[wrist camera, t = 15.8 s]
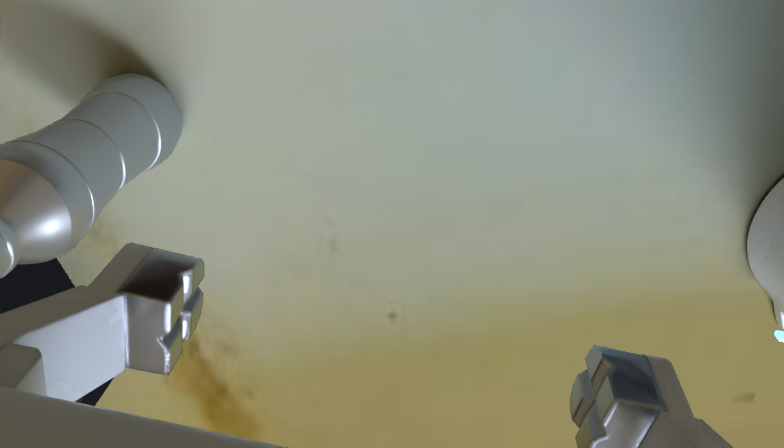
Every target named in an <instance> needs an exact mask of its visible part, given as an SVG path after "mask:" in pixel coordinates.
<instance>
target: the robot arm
mask: <svg viewBox="0 0 784 448" xmlns="http://www.w3.org/2000/svg"><path fill="white" fill-rule="evenodd" d="M747 255H748V261H749V265H750V268H751V270H752V273H753V275H754V276H755V278H756V280H757V281H758V282H759V284H760V285H761V286H762V287H763V288H764V289H765V291H766V292H767V293H768V294H769V295H770V297H771V298H772V300H773V303H774V311H775V317H776V320H777V323H778V325H779V326H780V327H781V328H782V329H783V330H784V178H783V179H782V180H781V181H779V182H778V183H777V184H776V186H775V187H774V188H773V189H772V190H771V191H770V192H769V194H768V195H767V196H766V198H765V199H764V200H763V202H762V203H761V205H760V207H759V208H758V210H757V212H756V214H755V216H754V218H753V221H752V223H751V226H750V230H749V234H748V240H747ZM203 277H204V262H203V260H202V259H200V258H195V257H191V256H187V255H183V254H179V253H175V252H170V251H166V250H162V249H158V248H153V247H149V246H144V245H140V244H135V243H129V244H126V245H125V246H124V247H123V248H122V249H121V250H120V251H119V252H118V254H117V255H116V256H115V257H114V258H113V259H112V260H111V261H110V263H109V264H108V265H107V266H106V267H105V268H104V269H103V270H102V272H101V273H100V274H99V275H98V276H97V277H96V278H95V279H94V281H93V282H92V283H91V284H90V285H89V286H88V287H86V286H78V287H75V288H72V289H69V290H66V291H64V292H61V293H58V294H55V295H52V296H50V297H47V298H44V299H41V300H38V301H35V302H33V303H30V304H27V305H24V306H21V307H19V308H16V309H13V310H10V311H7V312H4V313H2V314H0V448H288V447H283V446H278V445H274V444H269V443H264V442H260V441H255V440H250V439H246V438H241V437H236V436H232V435H227V434H222V433H218V432H213V431H208V430H204V429H199V428H194V427H190V426H185V425H180V424H176V423H171V422H166V421H161V420H157V419H152V418H147V417H143V416H138V415H133V414H129V413H124V412H119V411H115V410H110V409H105V408H101V407H96V406H91V405H87V404H82V403H77V402H74V401H76V400H78V399H79V398H81V397H82V396H84V395H86V394H87V393H89V392H91V391H92V390H94V389H95V388H97V387H99V386H100V385H102V384H104V383H105V382H107V381H108V380H110V379H112V378H113V377H115V376H116V375H118V374H120V373H121V372H123V371H125V368H130V369H135V370H141V371H146V372H152V373H157V374H162V375H168V376H169V374H170V373H171V371H172V369H173V367H174V366H175V364H176V362H177V360H178V359H179V357H180V355H181V354H182V342H183V341H185V340H187V339H189V338H191V336H192V334H193V332H194V330H195V329H196V326H197V323H198V321H199V318H200V315H201V310H202V304H203V293H202V291H201V290H200V288H199V287H198V285H199V284H200V282H201V281H202V279H203ZM774 334H775V336H776V337H777V339H778V340H779V341H782V342H784V331H775V333H774ZM585 360H586V364H587V368H588V369H587V370H585V371H583V372H582V373H580V374H578V375H577V378H576V380H575V382H574V385H573V387H572V392H571V397H570V411H571V417H572V420H573V421H574V422H575V424H576V425H577V426H578V427H579V428H580V429H579V431H578V433H577V435H576V437H575V438H576V442H577V447H578V448H733V447H732V446H731V445H730V444H729V443H727V442H726V441H725V440H724V439H723V438H722V437H721V436H720V435H719V434H717V433H716V432H715V431H714V430H713V429H712V428H711V427H710V426H708V425H707V424H706V423H705V422H704V421H703V420H701V419H697V418H695V417H694V415H693V413H692V410H691V408H690V406H689V403H688V401H687V399H686V396H685V394H684V392H683V389H682V387H681V385H680V382H679V380H678V378H677V375H676V373H675V371H674V368H673V366H672V364H671V362H670V361H669V360H667V359H665V358H660V357H655V356H650V355H644V354H642V355H640V354H635V353H631V352H626V351H621V350H617V349H612V348H607V347H603V346H598V345H594V346H593V347H592V348H591V349H590V350H589V352H588V354H587V356H586V358H585Z"/></svg>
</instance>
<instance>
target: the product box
mask: <svg viewBox="0 0 784 448" xmlns="http://www.w3.org/2000/svg"><path fill="white" fill-rule="evenodd" d="M72 288H75V287H74V285H73V283H72V282H71V280H70V279H69V277H68V276H67V274H66V273H65V271H64V269H63V268H62V266H61V265H60V263H59V262H58V260H57V258H54V259H52V260H49V261H47V262H41V263H34V264H17V265H16V266H15V267H14V269H13V270H12V271H10V272H9V273H8V274H7V275H6V276H4V277H3V278H0V314H2V313H4V312H7V311H10V310H13V309H16V308H19V307H21V306H24V305H27V304H30V303H33V302H35V301H38V300H41V299H44V298H47V297H50V296H52V295H55V294H58V293H61V292H64V291H66V290H69V289H72ZM113 378H114V377H113ZM113 378H112V379H110V380H108V381H107V382H105V383H104V384H102V385H100V386H99V387H97V388H95V389H94V390H92V391H91V392H89V393H87V394H86V395H84V396H82V397H81V398H79V399H78V400H76V401H74V402H77V403H82V404H87V405H91V406H95V405H96V403H97V402H98V400H99V399H100V397H101V396H102V394H103V393H104V391H105V390H106V389H107V387H108V386H109V384H110V383H111V381H112V380H113Z"/></svg>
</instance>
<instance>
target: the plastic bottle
mask: <svg viewBox="0 0 784 448" xmlns="http://www.w3.org/2000/svg"><path fill="white" fill-rule="evenodd" d="M181 132H182V117H181V112H180V109H179V107H178V104H177V103H176V101H175V99H174V97H173V96H172V95H171V94H170V92H169V91H168V90H167V89H166V88H165V87H164V86H162V85H161V84H160V83H159V82H157V81H155V80H154V79H152V78H149V77H147V76H144V75H140V74H123V75H119V76H114V77H110V78H107V79H105V80H103V81H101V82H100V83H98V84H97V85H96V86H95V87H94V88H93V89H92V90H91V91H90V92H89V93H88V94H87V95H86V96H85V97H84V98H83V100H82V101H81V102H80V104H79V105H77V106H76V107H75V108H74V109H73V110H71V111H70V112H69V113H68V114H67V115H65V116H64V117H63V118H62V119H60V120H58V121H56V122H54V123H52V124H50V125H48V126H46V127H44V128H42V129H40V130H38V131H37V132H34V133H31V134H28V135H25V136H22V137H20V138H17V139H14V140H11V141H8V142H6V143H3V144H0V278H3V277H4V276H6V275H7V274H8V273H9V272H10V271H12V270H13V269H14V267H15V266H16V265H17V264H34V263H41V262H47V261H49V260H52V259H54V258H57V257H59V256H61V255H64V254H66V253H68V252H69V251H71V250H72V249H73V248H75V246H76V245H77V244H78V243H79V242H80V241H81V239H82V238H83V237H84V236H85V234H86V233H87V232H88V230H89V229H90V227H91V226H92V224H93V223H94V222H95V220H96V219H97V217H98V216H99V214H100V213H101V211H102V210H103V208H104V207H105V206H106V205H107V203H108V202H109V201H110V200H111V199H112V198H113V197H114V196H115V194H116V193H118V191H119V190H120V189H121V188H122V187H123V186H124V185H126V184H127V183H128V182H130V181H131V180H133V179H134V178H135V177H137V176H138V175H139V174H141V173H143V172H145V171H148V170H150V169H152V168H154V167H155V166H157V165H159V164H160V163H162V162H163V161H164V160H166V159H167V158H168V157H169V156H170V154H171V153H172V152H173V150H174V148H175V146H176V145H177V143H178V141H179V138H180V136H181Z"/></svg>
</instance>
